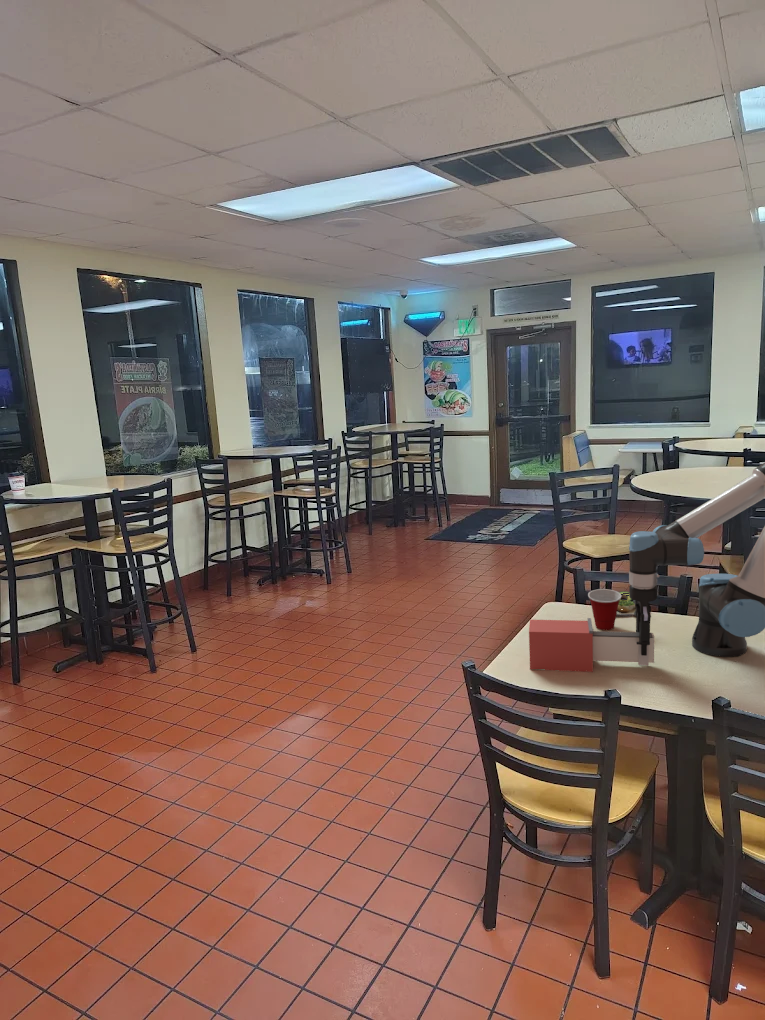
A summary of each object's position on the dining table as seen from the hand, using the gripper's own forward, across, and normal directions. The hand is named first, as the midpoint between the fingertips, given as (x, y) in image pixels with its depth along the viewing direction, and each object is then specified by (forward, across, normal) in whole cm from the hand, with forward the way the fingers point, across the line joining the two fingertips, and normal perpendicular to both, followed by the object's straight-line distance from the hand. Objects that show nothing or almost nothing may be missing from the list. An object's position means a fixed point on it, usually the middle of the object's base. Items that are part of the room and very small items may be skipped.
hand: (642, 661), depth 198 cm
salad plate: (+2, +50, +1) cm, 50 cm away
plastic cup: (+2, +30, +8) cm, 32 cm away
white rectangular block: (0, 0, +6) cm, 6 cm away
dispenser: (+2, 0, +23) cm, 23 cm away
